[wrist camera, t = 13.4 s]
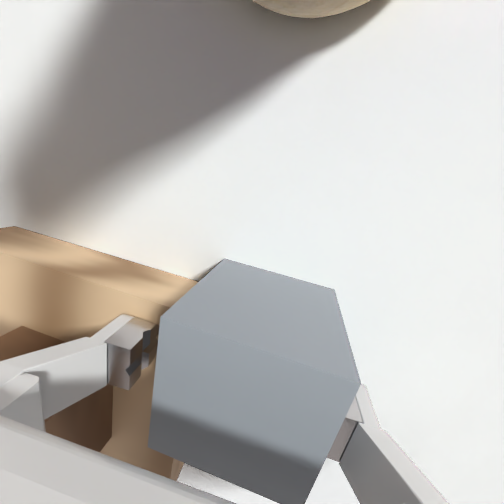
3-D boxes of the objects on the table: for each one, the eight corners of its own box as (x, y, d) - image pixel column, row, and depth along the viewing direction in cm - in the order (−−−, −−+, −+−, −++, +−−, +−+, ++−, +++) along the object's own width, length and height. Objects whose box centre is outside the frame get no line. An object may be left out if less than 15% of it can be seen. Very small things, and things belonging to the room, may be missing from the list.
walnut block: (113, 360, 10) (-47, 506, 6) (111, 436, 12) (-16, 601, 7) (22, 325, 11) (-189, 429, 6) (31, 402, 13) (-132, 531, 8)
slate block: (334, 289, 10) (361, 383, 5) (302, 378, 11) (300, 512, 7) (224, 258, 11) (160, 316, 6) (208, 346, 12) (147, 447, 7)
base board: (218, 287, 11) (195, 315, 9) (188, 453, 15) (166, 503, 12) (14, 226, 13) (-51, 235, 10) (33, 388, 16) (-12, 422, 14)
